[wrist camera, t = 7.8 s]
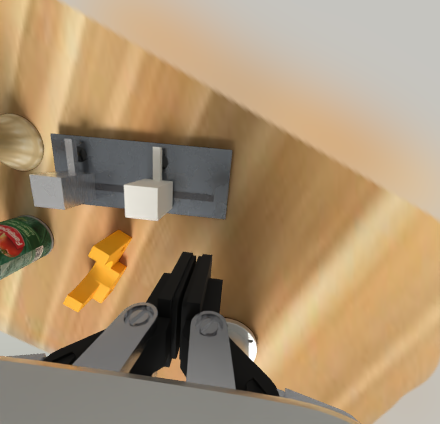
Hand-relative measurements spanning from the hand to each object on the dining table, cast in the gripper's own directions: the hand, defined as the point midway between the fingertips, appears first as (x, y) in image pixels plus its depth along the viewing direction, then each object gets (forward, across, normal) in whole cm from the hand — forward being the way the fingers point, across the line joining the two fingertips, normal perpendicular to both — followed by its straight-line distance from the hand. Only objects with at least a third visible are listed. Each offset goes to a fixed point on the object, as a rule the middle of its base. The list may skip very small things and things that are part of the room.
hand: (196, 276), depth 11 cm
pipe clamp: (+21, +18, +13) cm, 31 cm away
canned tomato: (+21, +32, +10) cm, 40 cm away
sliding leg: (+19, +9, -3) cm, 21 cm away
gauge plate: (+21, +12, -2) cm, 24 cm away
